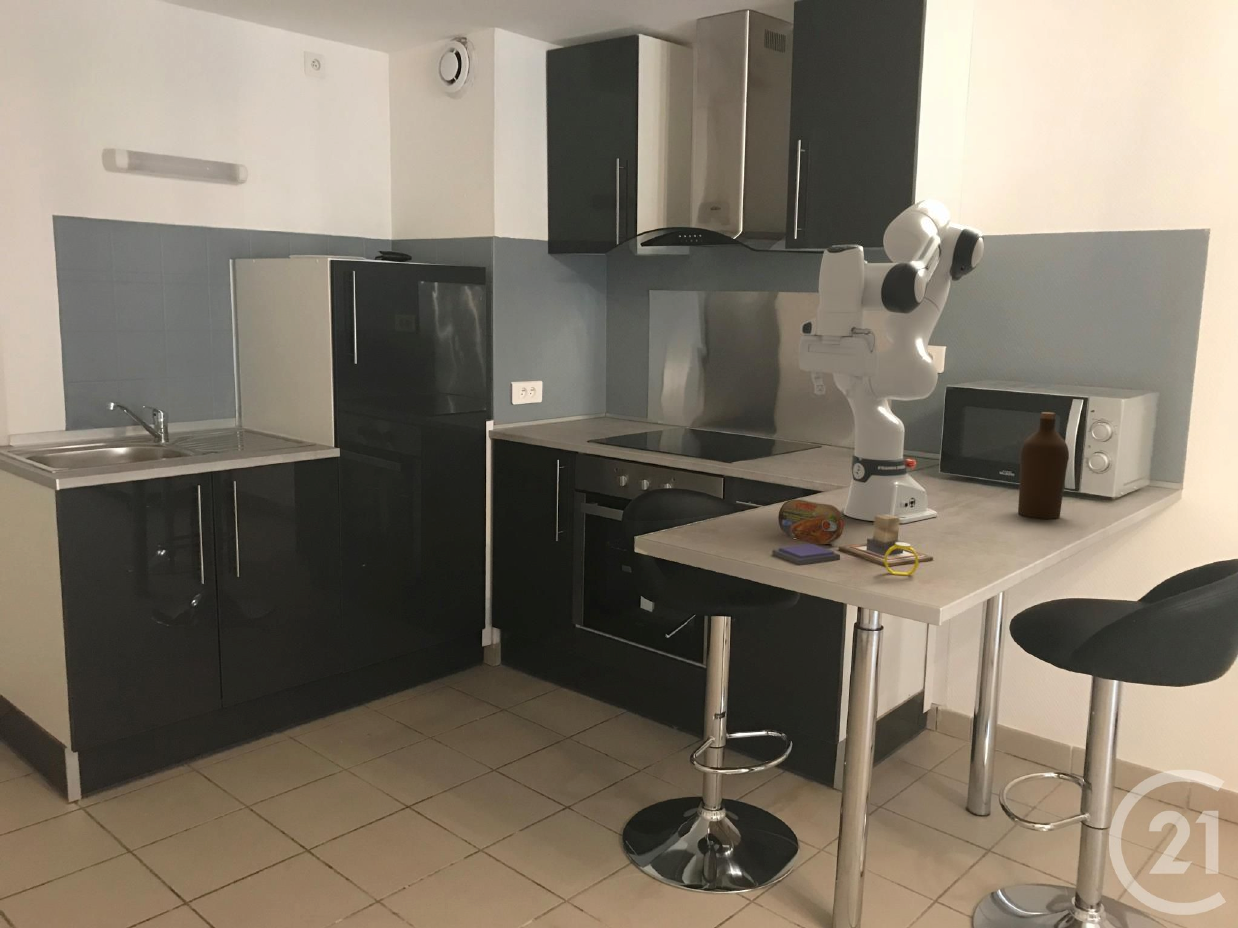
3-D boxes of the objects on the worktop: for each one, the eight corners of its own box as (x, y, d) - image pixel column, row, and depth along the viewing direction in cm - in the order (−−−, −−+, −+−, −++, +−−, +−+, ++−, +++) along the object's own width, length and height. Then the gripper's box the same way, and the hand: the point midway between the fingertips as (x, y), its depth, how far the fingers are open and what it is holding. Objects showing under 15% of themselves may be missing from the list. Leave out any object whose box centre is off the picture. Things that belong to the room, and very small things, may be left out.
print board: (882, 544, 205) (883, 539, 205) (932, 560, 193) (933, 555, 193) (838, 549, 199) (838, 545, 199) (887, 566, 187) (887, 562, 187)
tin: (776, 534, 211) (778, 496, 210) (785, 532, 213) (787, 494, 212) (836, 548, 201) (838, 508, 199) (844, 546, 203) (847, 506, 201)
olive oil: (1031, 520, 232) (1041, 415, 228) (1006, 510, 242) (1015, 410, 238) (1072, 519, 234) (1082, 415, 230) (1045, 510, 244) (1054, 410, 240)
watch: (915, 575, 183) (919, 544, 182) (916, 579, 180) (921, 548, 179) (882, 570, 184) (886, 539, 183) (883, 574, 181) (887, 543, 180)
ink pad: (811, 549, 199) (812, 542, 199) (839, 559, 191) (840, 552, 191) (772, 554, 194) (772, 547, 194) (799, 564, 187) (799, 557, 186)
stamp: (885, 547, 199) (887, 513, 198) (902, 553, 195) (905, 518, 194) (866, 549, 197) (868, 515, 196) (884, 555, 192) (886, 520, 191)
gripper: (888, 329, 188) (883, 400, 190) (818, 325, 205) (814, 391, 208) (862, 328, 185) (858, 401, 187) (794, 325, 202) (791, 392, 205)
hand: (835, 396), depth 197 cm, fingers open, 8 cm apart
